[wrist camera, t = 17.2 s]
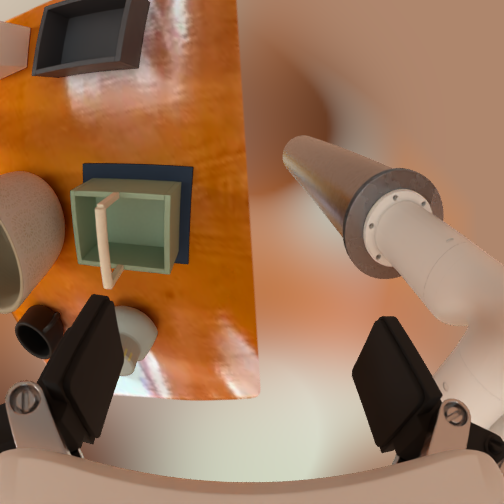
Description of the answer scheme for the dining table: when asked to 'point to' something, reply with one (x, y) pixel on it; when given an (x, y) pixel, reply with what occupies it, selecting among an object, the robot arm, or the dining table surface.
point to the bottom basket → (90, 37)
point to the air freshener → (134, 336)
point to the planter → (27, 235)
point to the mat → (153, 173)
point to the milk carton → (13, 48)
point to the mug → (39, 331)
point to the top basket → (126, 225)
